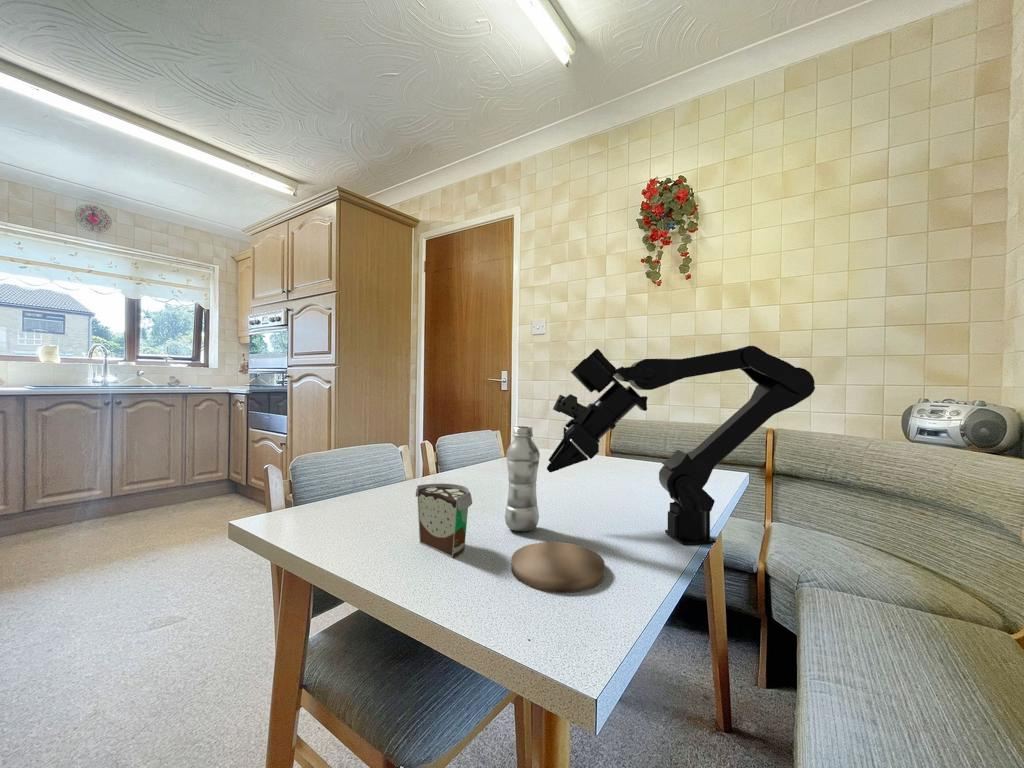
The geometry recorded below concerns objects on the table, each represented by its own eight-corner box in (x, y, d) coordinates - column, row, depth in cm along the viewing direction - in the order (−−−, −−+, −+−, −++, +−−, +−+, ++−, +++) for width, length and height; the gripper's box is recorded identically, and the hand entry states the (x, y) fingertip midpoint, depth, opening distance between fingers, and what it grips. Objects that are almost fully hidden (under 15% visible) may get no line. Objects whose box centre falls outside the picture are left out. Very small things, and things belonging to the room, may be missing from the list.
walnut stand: (585, 548, 69) (585, 540, 69) (620, 588, 55) (620, 577, 55) (504, 553, 67) (505, 544, 67) (520, 596, 53) (520, 584, 53)
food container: (486, 550, 68) (487, 491, 68) (458, 561, 64) (459, 497, 64) (442, 532, 76) (443, 479, 77) (414, 540, 72) (415, 485, 72)
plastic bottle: (503, 524, 81) (504, 425, 82) (536, 523, 82) (537, 425, 82) (505, 535, 75) (506, 428, 75) (541, 535, 75) (542, 428, 76)
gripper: (576, 381, 87) (525, 431, 88) (579, 378, 68) (514, 441, 69) (613, 418, 85) (560, 468, 87) (627, 426, 67) (559, 489, 68)
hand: (549, 465), depth 78 cm, fingers open, 9 cm apart
